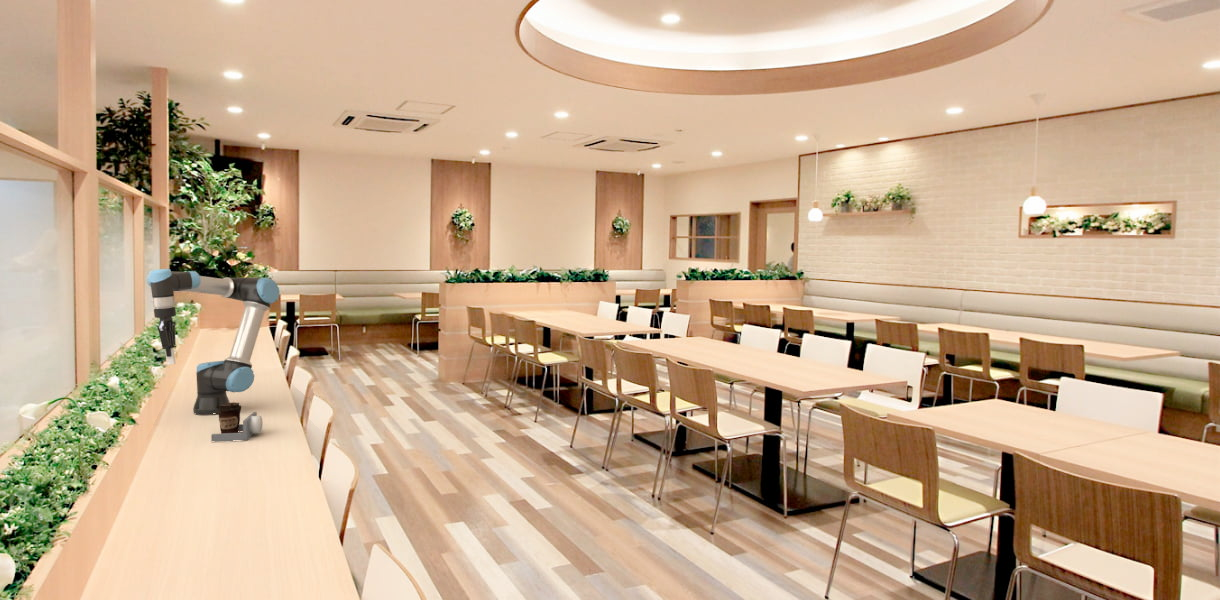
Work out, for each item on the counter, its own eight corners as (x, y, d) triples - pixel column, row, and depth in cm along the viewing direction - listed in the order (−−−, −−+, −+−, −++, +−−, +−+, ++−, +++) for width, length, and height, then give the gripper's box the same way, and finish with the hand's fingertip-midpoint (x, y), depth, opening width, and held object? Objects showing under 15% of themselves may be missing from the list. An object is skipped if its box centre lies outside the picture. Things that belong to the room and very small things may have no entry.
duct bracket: (223, 432, 295) (223, 413, 294) (265, 430, 298) (264, 411, 298) (211, 442, 280) (210, 422, 279) (255, 440, 283) (255, 420, 283)
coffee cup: (240, 437, 287) (239, 405, 286) (217, 439, 284) (216, 407, 283) (242, 432, 295) (242, 401, 294) (220, 433, 292) (219, 402, 291)
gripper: (160, 305, 297) (167, 361, 300) (147, 309, 284) (154, 367, 287) (180, 304, 298) (186, 360, 301) (168, 308, 286) (175, 366, 289)
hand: (171, 363), depth 294 cm, fingers closed
